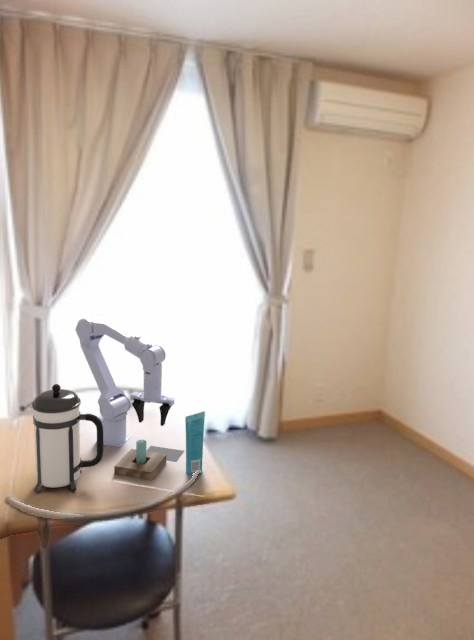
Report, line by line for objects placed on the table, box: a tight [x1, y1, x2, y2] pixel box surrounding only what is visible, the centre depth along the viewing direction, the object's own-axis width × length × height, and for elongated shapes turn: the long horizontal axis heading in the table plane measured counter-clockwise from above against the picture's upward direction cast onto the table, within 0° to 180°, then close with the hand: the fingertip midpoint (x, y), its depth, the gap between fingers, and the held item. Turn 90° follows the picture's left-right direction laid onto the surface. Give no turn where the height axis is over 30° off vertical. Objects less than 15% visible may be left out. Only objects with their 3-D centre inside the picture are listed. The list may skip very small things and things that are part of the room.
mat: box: [146, 445, 185, 463], centre depth 166 cm, size 12×8×1 cm, turn 77°
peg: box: [135, 439, 147, 464], centre depth 155 cm, size 3×3×9 cm
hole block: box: [113, 448, 167, 481], centre depth 156 cm, size 12×12×3 cm
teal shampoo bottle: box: [185, 410, 206, 476], centre depth 154 cm, size 7×5×19 cm, turn 140°
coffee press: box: [27, 383, 104, 494], centre depth 144 cm, size 17×16×30 cm
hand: (151, 423), depth 166 cm, fingers open, 7 cm apart
